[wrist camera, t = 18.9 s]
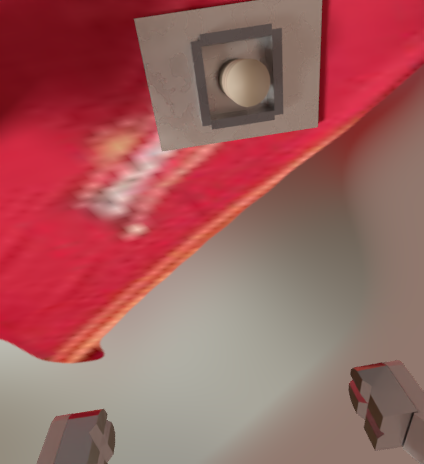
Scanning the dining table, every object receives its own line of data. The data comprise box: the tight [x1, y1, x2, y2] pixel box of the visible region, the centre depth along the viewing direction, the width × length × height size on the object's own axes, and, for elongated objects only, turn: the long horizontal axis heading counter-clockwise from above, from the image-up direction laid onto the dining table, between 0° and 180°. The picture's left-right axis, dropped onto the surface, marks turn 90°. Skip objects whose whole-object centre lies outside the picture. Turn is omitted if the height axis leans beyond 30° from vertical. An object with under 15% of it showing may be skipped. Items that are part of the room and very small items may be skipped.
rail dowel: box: [218, 59, 270, 107], centre depth 32 cm, size 4×4×8 cm
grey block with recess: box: [134, 0, 322, 151], centre depth 35 cm, size 20×14×5 cm
